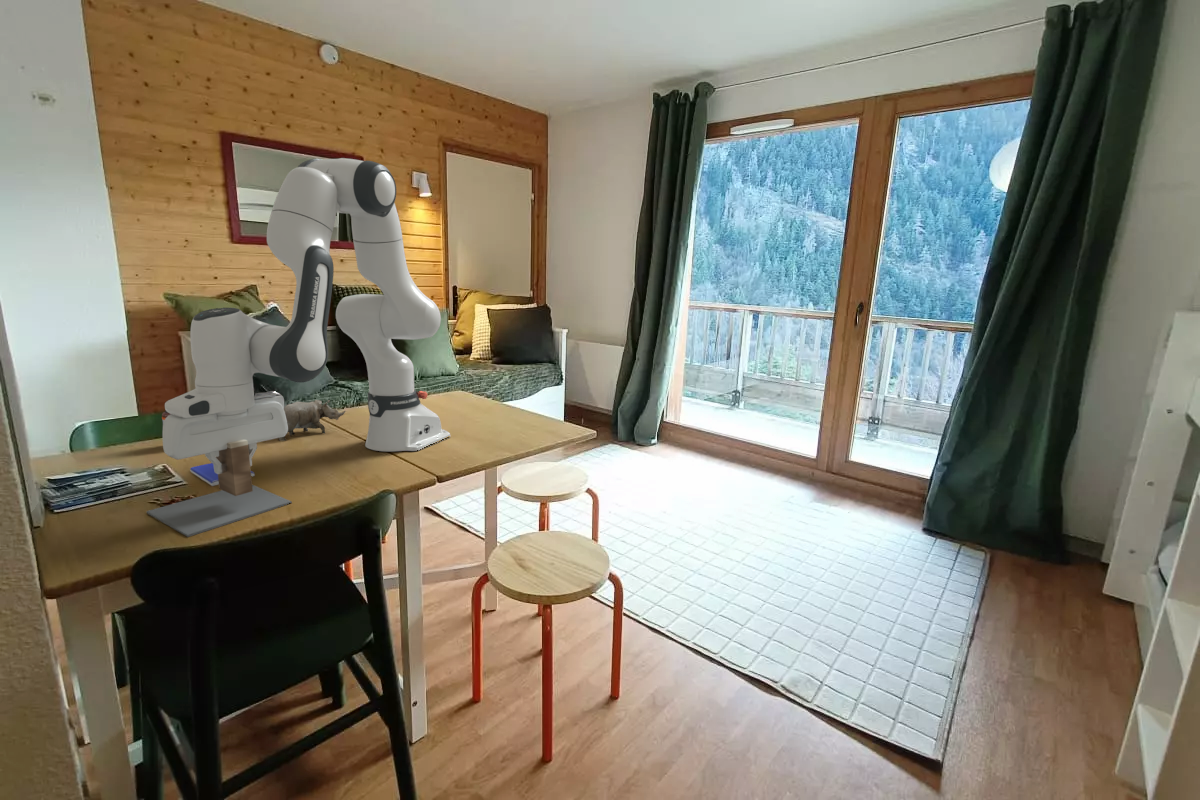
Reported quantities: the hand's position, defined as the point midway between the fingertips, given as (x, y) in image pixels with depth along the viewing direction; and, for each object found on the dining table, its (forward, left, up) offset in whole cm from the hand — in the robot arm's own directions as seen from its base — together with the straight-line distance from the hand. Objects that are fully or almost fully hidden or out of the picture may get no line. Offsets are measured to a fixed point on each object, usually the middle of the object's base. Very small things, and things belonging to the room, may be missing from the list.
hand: (233, 469), depth 107 cm
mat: (+2, -2, -8) cm, 8 cm away
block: (0, 0, -4) cm, 4 cm away
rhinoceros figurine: (-36, -35, -8) cm, 51 cm away
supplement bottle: (-10, -48, -8) cm, 50 cm away
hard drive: (-7, -21, -9) cm, 24 cm away
